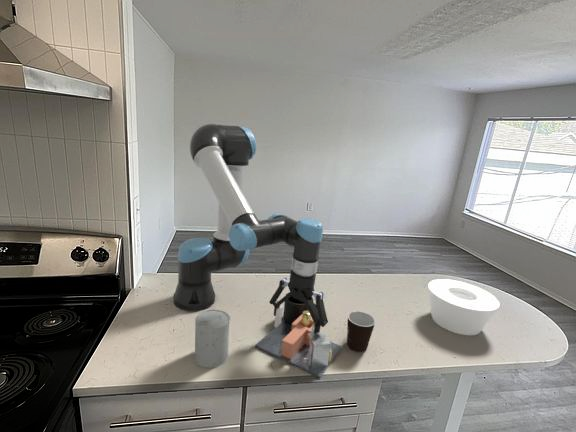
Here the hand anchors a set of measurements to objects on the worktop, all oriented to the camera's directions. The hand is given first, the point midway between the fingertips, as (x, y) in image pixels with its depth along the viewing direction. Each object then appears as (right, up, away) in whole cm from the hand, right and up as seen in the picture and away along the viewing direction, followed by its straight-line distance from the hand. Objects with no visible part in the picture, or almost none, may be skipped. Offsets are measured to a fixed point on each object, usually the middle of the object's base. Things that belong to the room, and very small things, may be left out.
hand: (294, 333), depth 102 cm
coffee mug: (+21, -5, +4) cm, 22 cm away
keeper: (+7, -6, -6) cm, 11 cm away
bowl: (+62, -4, +23) cm, 66 cm away
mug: (+2, -1, +14) cm, 15 cm away
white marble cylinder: (-24, -4, -8) cm, 26 cm away
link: (+1, -3, 0) cm, 4 cm away
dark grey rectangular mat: (+1, -4, -1) cm, 5 cm away
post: (+3, -3, +5) cm, 6 cm away
